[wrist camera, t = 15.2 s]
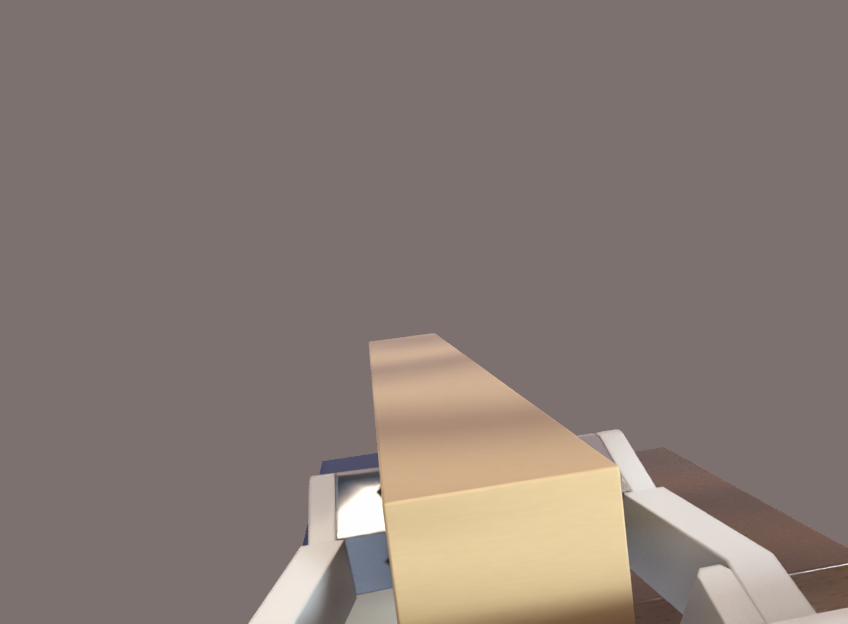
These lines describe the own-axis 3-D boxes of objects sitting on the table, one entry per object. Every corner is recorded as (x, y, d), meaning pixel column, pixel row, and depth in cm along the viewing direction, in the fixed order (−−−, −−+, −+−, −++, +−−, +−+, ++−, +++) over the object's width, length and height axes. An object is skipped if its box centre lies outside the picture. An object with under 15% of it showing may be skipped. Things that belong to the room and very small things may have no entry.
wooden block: (640, 656, 9) (620, 466, 9) (407, 701, 9) (381, 503, 8) (441, 387, 32) (434, 333, 32) (375, 396, 31) (368, 341, 31)
